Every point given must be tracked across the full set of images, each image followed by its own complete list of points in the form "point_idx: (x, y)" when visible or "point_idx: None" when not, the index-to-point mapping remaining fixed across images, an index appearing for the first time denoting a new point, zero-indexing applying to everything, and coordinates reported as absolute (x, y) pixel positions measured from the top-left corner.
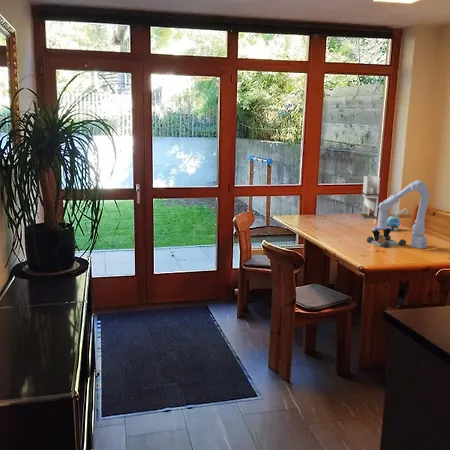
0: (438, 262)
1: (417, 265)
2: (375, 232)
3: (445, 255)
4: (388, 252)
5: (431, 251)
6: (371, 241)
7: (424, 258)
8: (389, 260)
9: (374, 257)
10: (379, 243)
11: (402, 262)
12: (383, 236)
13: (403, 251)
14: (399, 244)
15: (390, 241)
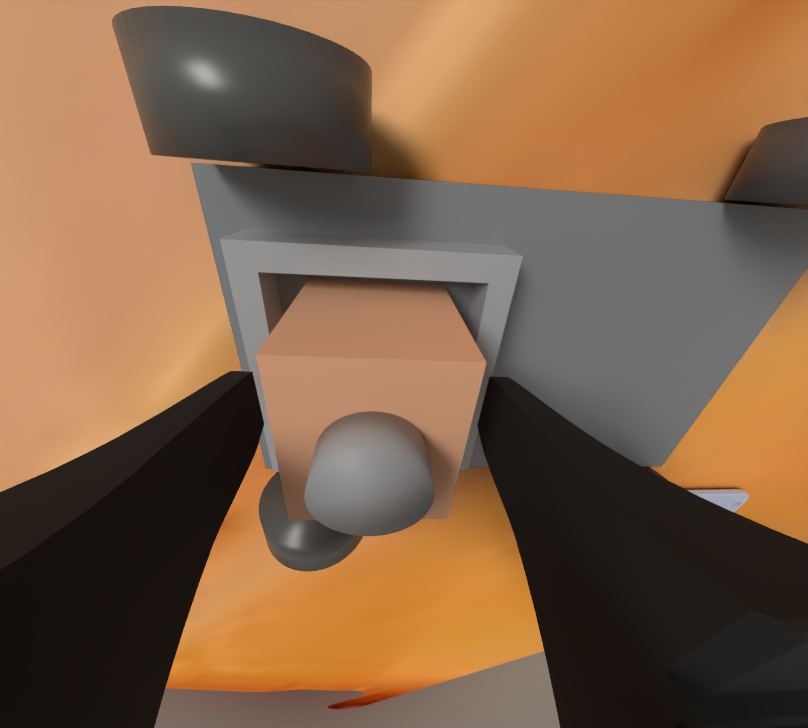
0: (407, 680)
1: (258, 690)
2: (39, 609)
3: None
4: (255, 554)
5: None
6: (227, 246)
7: (403, 651)
8: None
9: None
10: (271, 450)
11: (204, 667)
12: (453, 469)
13: (420, 562)
14: None
15: (696, 301)
